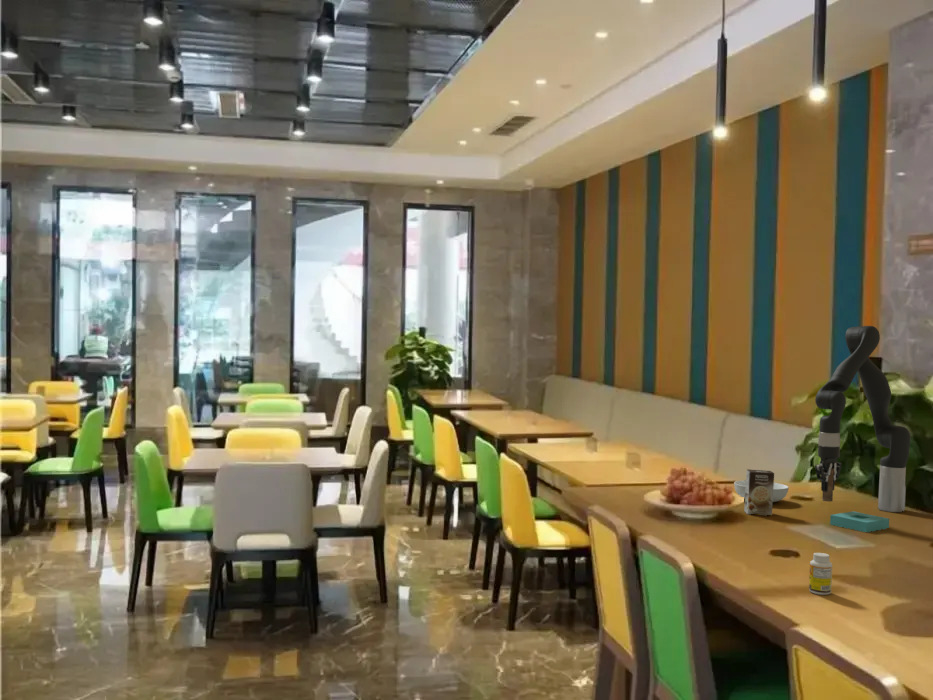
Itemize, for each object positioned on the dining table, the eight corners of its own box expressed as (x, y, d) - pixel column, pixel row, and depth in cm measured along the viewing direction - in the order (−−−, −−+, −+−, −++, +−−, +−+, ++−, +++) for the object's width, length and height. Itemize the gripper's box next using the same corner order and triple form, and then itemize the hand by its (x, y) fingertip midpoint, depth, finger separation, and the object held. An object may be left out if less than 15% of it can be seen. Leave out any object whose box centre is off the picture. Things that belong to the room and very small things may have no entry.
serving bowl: (795, 507, 369) (795, 489, 369) (741, 505, 369) (742, 488, 369) (778, 497, 390) (779, 480, 390) (727, 495, 390) (728, 479, 390)
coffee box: (747, 514, 351) (749, 471, 351) (743, 511, 357) (745, 469, 357) (772, 516, 350) (774, 473, 350) (768, 512, 357) (770, 470, 356)
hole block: (853, 520, 346) (853, 511, 346) (888, 528, 334) (889, 518, 334) (830, 524, 338) (830, 514, 338) (866, 532, 326) (866, 522, 326)
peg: (826, 499, 352) (827, 467, 351) (834, 500, 349) (835, 468, 348) (820, 500, 350) (821, 468, 349) (828, 501, 347) (829, 469, 346)
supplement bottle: (813, 588, 254) (814, 550, 254) (834, 592, 251) (835, 554, 250) (805, 592, 250) (807, 554, 250) (826, 596, 246) (828, 558, 246)
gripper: (831, 442, 356) (830, 487, 356) (808, 444, 347) (807, 491, 348) (849, 444, 350) (848, 490, 350) (826, 447, 341) (825, 494, 342)
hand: (827, 490), depth 349 cm, fingers closed on peg, 3 cm apart
